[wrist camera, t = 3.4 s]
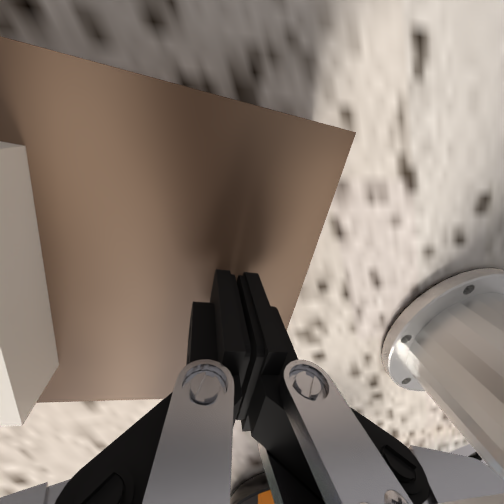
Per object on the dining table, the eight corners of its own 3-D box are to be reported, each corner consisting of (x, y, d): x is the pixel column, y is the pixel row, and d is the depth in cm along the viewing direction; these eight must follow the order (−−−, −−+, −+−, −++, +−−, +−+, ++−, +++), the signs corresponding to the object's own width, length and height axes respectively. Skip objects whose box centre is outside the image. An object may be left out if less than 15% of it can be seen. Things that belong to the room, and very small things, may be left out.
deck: (311, 130, 12) (356, 132, 9) (251, 342, 18) (263, 395, 14) (-424, -60, 7) (-1116, -266, 3) (-172, 332, 12) (-320, 413, 9)
